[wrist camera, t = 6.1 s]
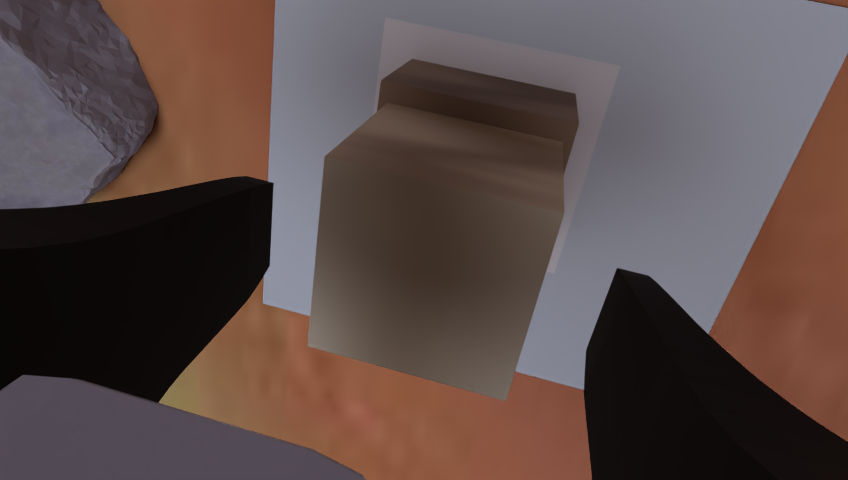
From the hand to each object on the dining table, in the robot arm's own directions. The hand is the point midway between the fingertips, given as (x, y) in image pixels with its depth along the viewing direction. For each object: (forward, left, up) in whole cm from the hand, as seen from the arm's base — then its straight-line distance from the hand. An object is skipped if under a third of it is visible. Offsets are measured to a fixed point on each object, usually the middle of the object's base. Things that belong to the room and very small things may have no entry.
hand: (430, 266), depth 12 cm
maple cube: (0, 0, -4) cm, 4 cm away
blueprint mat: (-1, +1, -8) cm, 8 cm away
